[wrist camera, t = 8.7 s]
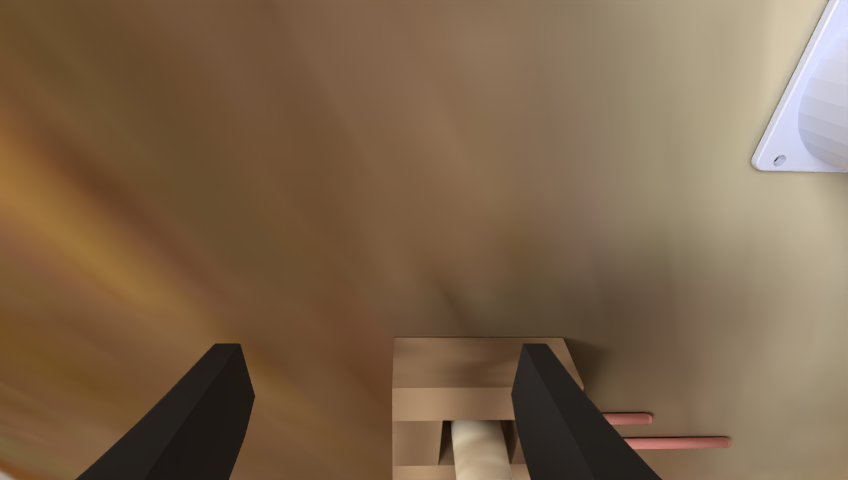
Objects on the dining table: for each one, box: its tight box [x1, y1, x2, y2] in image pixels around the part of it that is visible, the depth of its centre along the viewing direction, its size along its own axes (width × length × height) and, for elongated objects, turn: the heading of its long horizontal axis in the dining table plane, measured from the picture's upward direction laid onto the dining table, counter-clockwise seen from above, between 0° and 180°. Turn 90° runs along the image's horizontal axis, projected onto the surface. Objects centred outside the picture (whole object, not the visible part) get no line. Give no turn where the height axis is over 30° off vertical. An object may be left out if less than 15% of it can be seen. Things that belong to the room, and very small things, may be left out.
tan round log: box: [450, 420, 513, 480], centre depth 24 cm, size 3×3×8 cm
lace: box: [602, 413, 731, 449], centre depth 29 cm, size 16×4×1 cm, turn 88°
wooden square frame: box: [392, 338, 584, 480], centre depth 25 cm, size 10×10×4 cm
